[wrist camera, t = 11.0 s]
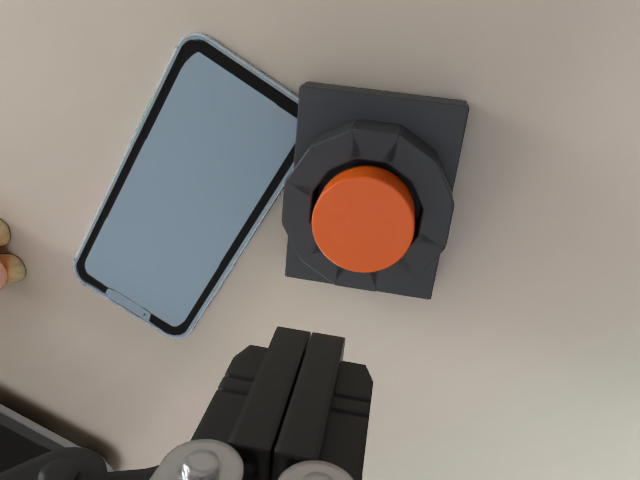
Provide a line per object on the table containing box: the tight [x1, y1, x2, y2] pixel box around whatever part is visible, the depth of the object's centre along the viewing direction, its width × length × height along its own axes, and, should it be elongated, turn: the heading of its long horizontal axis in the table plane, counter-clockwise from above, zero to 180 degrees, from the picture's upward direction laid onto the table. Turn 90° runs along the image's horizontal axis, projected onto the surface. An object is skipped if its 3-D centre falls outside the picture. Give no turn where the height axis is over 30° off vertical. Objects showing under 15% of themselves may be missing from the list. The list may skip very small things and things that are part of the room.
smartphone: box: [73, 33, 299, 339], centre depth 28 cm, size 7×1×15 cm
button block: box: [282, 82, 469, 299], centre depth 24 cm, size 9×7×4 cm
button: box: [312, 165, 415, 273], centre depth 22 cm, size 4×4×2 cm
